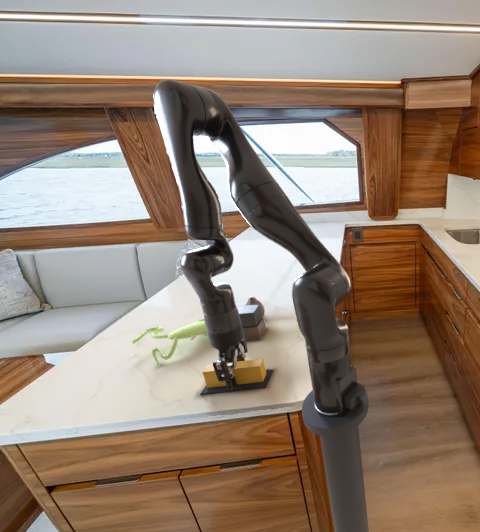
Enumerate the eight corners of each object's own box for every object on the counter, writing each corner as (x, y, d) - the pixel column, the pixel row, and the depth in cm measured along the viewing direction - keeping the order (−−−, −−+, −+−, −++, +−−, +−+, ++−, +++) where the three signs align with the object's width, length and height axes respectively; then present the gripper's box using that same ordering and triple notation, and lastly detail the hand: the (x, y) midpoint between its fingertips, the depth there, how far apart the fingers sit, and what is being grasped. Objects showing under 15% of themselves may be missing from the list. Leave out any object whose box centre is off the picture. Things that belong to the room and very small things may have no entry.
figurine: (133, 348, 96) (128, 333, 95) (222, 316, 115) (219, 303, 113) (145, 372, 85) (139, 355, 83) (242, 332, 103) (238, 318, 102)
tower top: (261, 317, 103) (259, 304, 102) (256, 326, 98) (253, 312, 96) (243, 319, 103) (240, 306, 101) (237, 327, 97) (233, 314, 95)
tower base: (266, 329, 105) (263, 316, 104) (260, 340, 99) (257, 326, 97) (245, 331, 105) (242, 318, 103) (238, 342, 98) (234, 328, 96)
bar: (266, 373, 82) (263, 358, 80) (263, 381, 79) (259, 366, 77) (212, 379, 80) (208, 364, 79) (207, 388, 77) (202, 372, 76)
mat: (273, 370, 84) (273, 369, 84) (265, 387, 77) (265, 386, 77) (213, 376, 82) (212, 375, 82) (200, 395, 75) (200, 393, 75)
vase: (241, 322, 110) (236, 301, 108) (255, 314, 117) (251, 293, 114) (256, 325, 108) (252, 303, 105) (269, 316, 114) (265, 295, 112)
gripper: (228, 339, 68) (242, 397, 73) (249, 310, 81) (261, 361, 87) (192, 342, 67) (210, 401, 72) (220, 312, 80) (234, 364, 86)
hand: (238, 379), depth 79 cm, fingers open, 6 cm apart
